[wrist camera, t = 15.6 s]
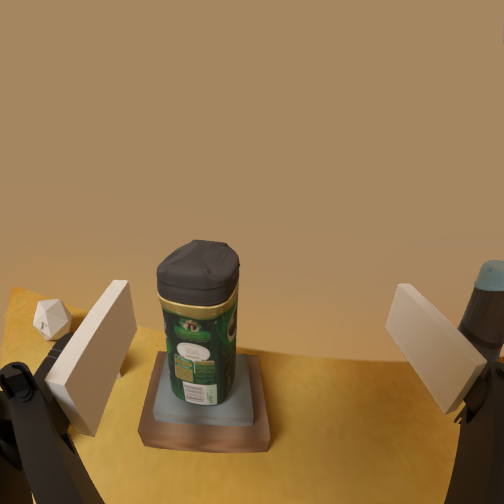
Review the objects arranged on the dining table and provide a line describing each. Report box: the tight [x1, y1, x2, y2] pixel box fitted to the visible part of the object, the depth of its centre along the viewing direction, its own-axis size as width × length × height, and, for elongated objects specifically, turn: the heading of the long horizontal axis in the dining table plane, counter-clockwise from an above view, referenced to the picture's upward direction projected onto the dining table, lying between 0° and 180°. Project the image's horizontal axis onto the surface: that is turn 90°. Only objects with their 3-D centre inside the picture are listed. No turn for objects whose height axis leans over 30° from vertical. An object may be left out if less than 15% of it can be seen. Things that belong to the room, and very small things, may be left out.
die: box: [33, 299, 72, 341], centre depth 44 cm, size 8×9×10 cm
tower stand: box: [138, 351, 271, 453], centre depth 35 cm, size 16×16×6 cm
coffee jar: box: [157, 240, 240, 406], centre depth 31 cm, size 10×8×19 cm
